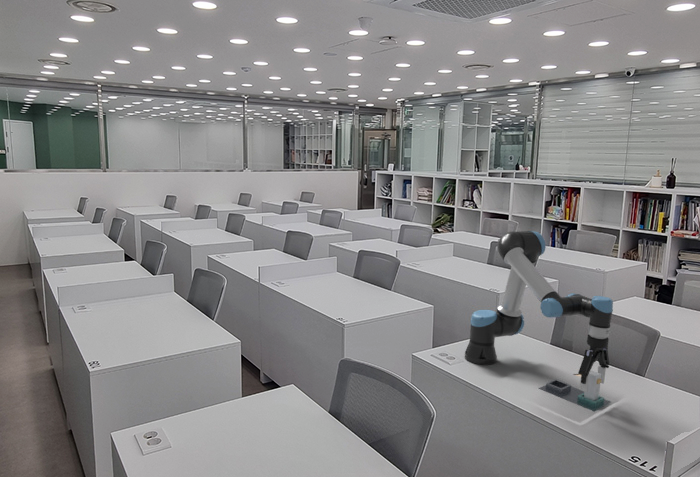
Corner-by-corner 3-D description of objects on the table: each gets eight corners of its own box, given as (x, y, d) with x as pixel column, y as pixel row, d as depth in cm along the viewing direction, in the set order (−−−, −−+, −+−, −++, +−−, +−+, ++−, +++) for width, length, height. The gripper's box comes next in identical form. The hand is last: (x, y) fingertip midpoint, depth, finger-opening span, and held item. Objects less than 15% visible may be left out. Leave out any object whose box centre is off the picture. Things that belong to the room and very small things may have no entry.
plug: (583, 400, 208) (586, 372, 206) (588, 398, 210) (591, 370, 208) (594, 405, 204) (597, 376, 202) (599, 402, 206) (602, 374, 205)
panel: (538, 390, 218) (538, 383, 217) (555, 382, 226) (556, 376, 226) (593, 413, 199) (594, 406, 199) (611, 404, 208) (611, 397, 207)
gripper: (591, 345, 192) (585, 398, 196) (622, 332, 208) (616, 382, 211) (572, 338, 198) (566, 390, 202) (603, 327, 214) (597, 375, 217)
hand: (591, 386), depth 206 cm, fingers open, 13 cm apart
